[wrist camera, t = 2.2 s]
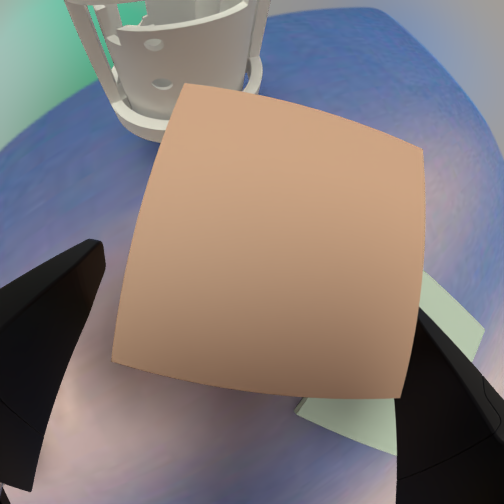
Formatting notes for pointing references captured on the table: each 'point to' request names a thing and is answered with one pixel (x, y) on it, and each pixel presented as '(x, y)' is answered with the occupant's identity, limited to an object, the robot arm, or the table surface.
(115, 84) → the white flanged cylinder housing
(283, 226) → the block
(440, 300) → the mat
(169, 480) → the table surface
